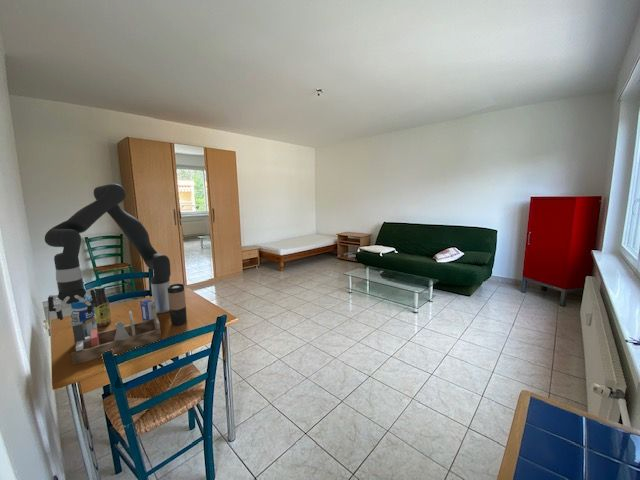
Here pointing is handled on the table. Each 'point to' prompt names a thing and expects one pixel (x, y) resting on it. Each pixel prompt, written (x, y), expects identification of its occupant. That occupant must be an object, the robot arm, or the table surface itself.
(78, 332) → the kicker
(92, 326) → the blue-lidded jar
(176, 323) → the travel mug
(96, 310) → the sauce bottle
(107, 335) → the brown wooden open box
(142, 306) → the walkman
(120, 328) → the flask
